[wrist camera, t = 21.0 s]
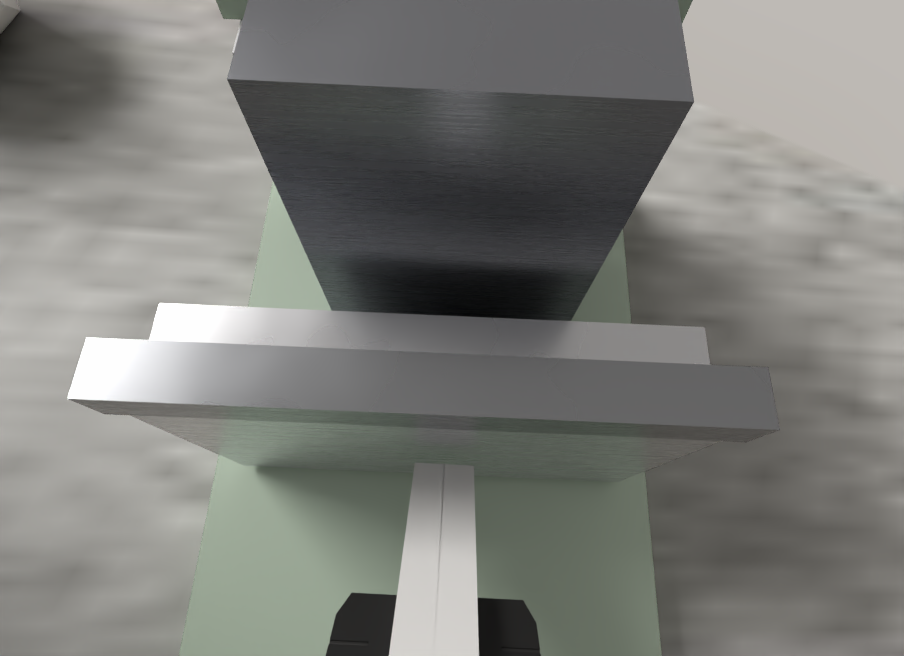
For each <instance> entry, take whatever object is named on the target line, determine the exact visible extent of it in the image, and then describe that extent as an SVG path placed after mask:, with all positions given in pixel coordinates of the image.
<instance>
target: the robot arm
mask: <svg viewBox="0 0 904 656" xmlns="http://www.w3.org/2000/svg"><path fill="white" fill-rule="evenodd" d="M326 656H541V654H540V645H539V638H538V631H537V623H536V621H535V620H534V618H533V616H532V614H531V613H530V611H529V609H528V607H527V606H526V604H525V602H524V601H523V600H514V599H494V598H477V564H476V527H475V490H474V466H469V465H450V464H430V463H415V466H414V473H413V480H412V488H411V495H410V503H409V510H408V517H407V525H406V532H405V540H404V547H403V554H402V562H401V569H400V576H399V584H398V591H397V595H388V594H369V593H351V594H350V596H349V597H348V598H347V600H346V601H345V602H344V604H343V605H342V606H341V608H340V609H339V611H338V612H337V613H336V616H335V620H334V624H333V628H332V632H331V636H330V642H329V645H328V648H327V652H326Z"/></svg>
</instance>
